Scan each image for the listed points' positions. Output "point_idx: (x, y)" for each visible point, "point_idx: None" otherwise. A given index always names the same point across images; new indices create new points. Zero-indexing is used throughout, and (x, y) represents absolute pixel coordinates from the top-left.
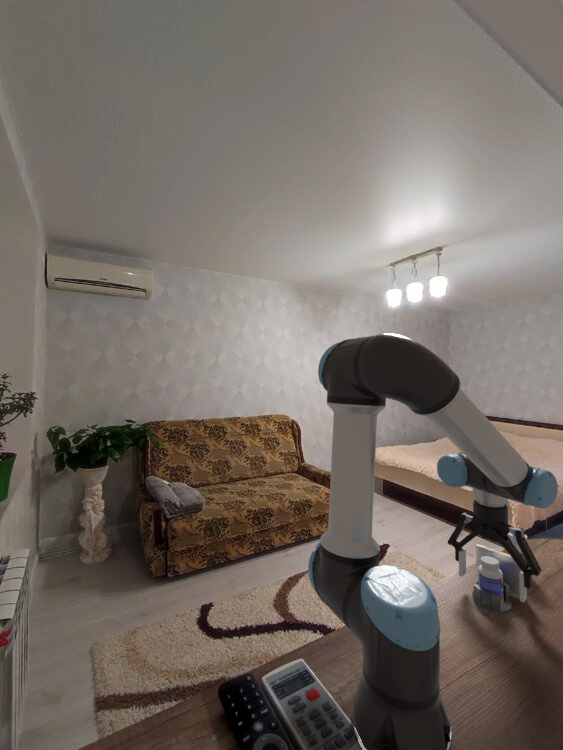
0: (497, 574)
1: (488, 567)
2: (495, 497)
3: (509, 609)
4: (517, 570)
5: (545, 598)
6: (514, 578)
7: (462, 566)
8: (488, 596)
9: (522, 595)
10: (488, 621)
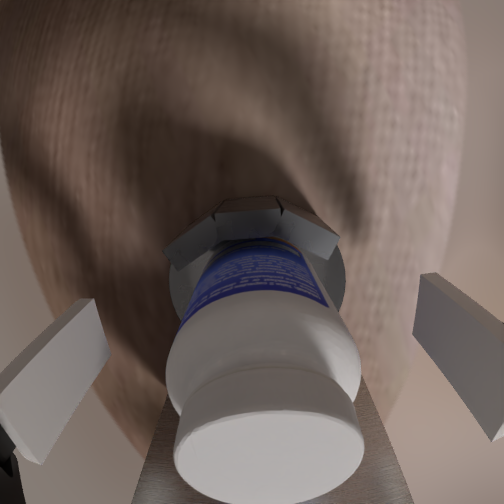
0: (175, 365)
1: (244, 375)
2: None
3: (169, 279)
4: (168, 482)
5: (148, 434)
6: None
7: (453, 312)
8: (225, 208)
9: (64, 316)
10: (196, 111)
